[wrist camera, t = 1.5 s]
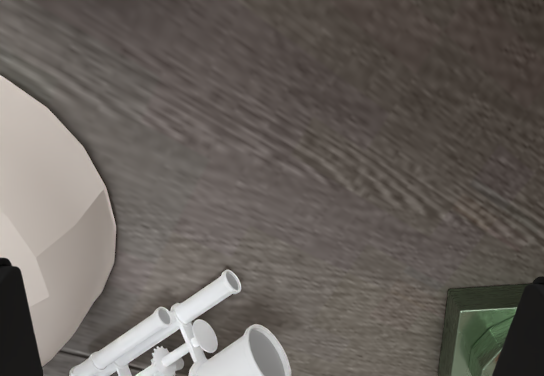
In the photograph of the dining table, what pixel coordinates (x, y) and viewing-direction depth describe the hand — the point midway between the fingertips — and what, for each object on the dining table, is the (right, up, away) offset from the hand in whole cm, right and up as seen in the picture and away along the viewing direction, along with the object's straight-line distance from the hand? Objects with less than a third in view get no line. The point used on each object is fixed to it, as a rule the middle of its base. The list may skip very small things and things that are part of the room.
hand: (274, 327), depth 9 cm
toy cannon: (-7, -8, +25) cm, 27 cm away
